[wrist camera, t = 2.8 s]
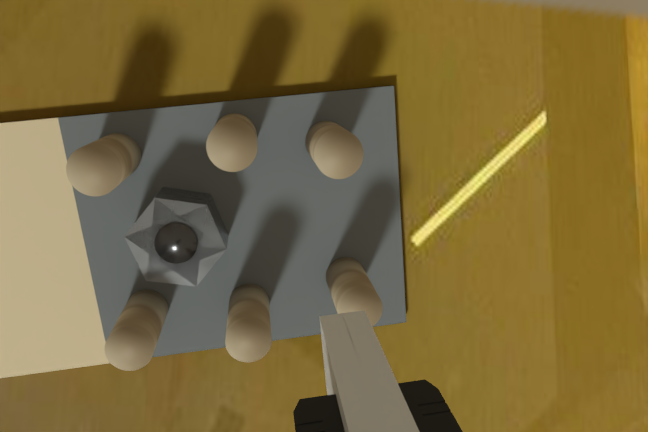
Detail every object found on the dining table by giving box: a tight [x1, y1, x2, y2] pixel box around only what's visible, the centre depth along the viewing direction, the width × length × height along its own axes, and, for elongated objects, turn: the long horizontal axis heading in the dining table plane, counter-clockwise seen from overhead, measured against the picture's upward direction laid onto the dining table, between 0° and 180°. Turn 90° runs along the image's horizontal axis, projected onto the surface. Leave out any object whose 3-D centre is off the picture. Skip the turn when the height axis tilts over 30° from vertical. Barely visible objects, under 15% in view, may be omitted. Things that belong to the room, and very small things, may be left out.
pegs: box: [66, 113, 383, 371], centre depth 32 cm, size 16×14×6 cm
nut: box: [124, 187, 229, 286], centre depth 33 cm, size 5×6×3 cm
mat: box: [0, 86, 406, 378], centre depth 35 cm, size 30×16×1 cm, turn 95°
